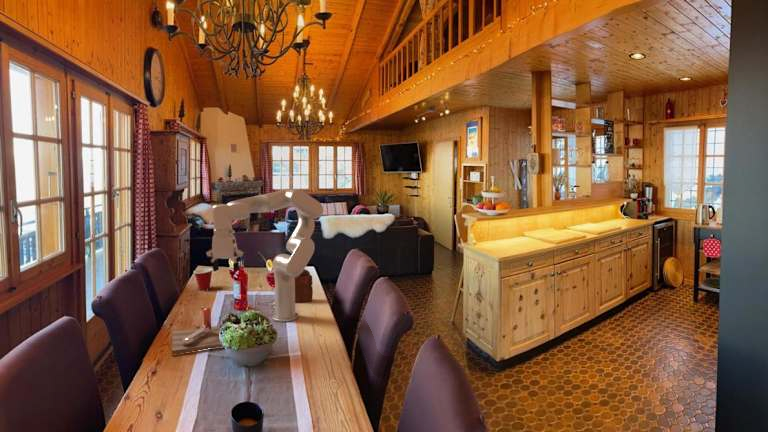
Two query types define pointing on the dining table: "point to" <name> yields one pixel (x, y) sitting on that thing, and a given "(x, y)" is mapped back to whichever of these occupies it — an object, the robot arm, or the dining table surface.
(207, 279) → the plastic cup
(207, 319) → the lever
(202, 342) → the lever board
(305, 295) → the wooden figurine
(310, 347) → the dining table surface
